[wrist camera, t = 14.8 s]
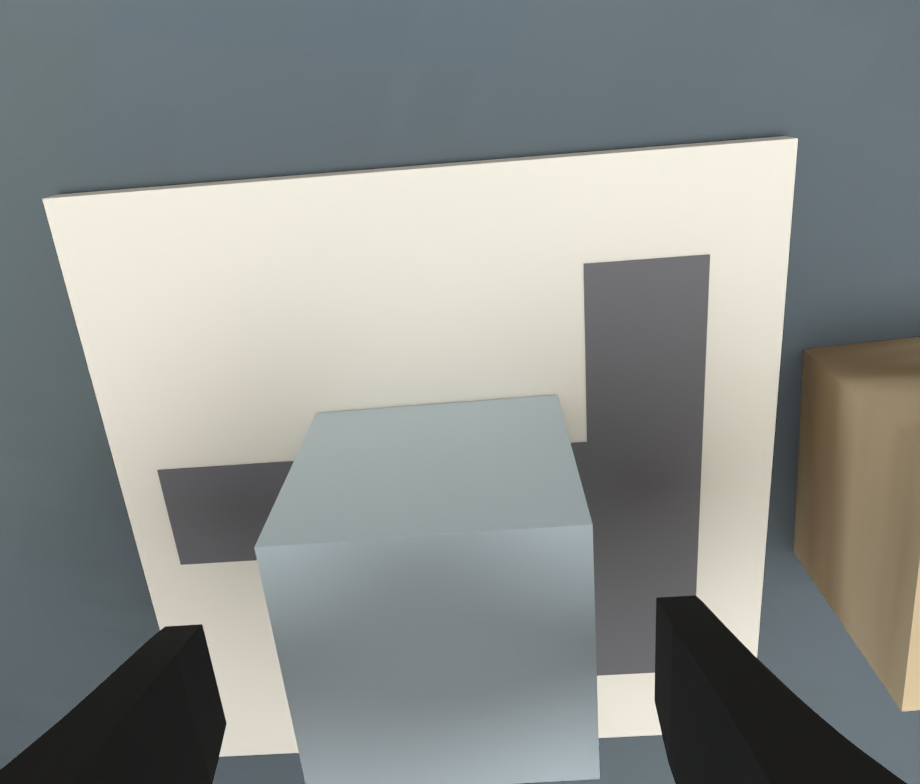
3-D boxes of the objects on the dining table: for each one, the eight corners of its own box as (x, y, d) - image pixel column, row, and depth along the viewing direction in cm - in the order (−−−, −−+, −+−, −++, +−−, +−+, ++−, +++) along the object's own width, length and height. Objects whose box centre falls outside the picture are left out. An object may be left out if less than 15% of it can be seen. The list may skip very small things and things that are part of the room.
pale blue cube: (349, 610, 18) (308, 794, 13) (315, 413, 16) (254, 547, 12) (566, 596, 18) (600, 779, 13) (557, 394, 16) (592, 524, 11)
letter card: (202, 739, 20) (194, 759, 20) (58, 194, 15) (41, 198, 15) (743, 712, 20) (751, 731, 19) (785, 135, 15) (799, 138, 14)
